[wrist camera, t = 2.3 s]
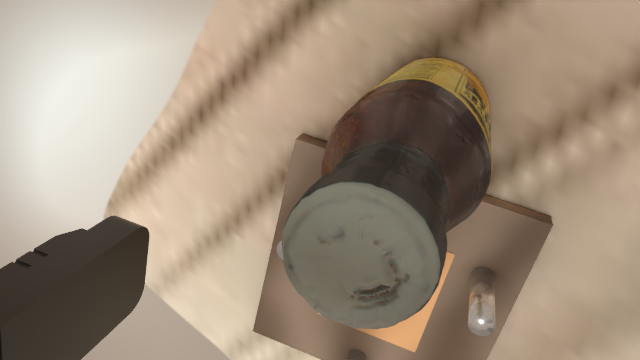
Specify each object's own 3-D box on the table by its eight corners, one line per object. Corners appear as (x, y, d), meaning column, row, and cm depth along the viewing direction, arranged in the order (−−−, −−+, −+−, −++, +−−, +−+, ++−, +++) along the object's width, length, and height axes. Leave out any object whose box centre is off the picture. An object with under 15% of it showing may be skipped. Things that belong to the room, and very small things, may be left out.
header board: (550, 216, 30) (552, 225, 29) (459, 404, 37) (458, 417, 36) (302, 133, 33) (295, 139, 32) (259, 321, 40) (252, 331, 39)
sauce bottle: (480, 164, 30) (469, 417, 13) (377, 149, 32) (241, 357, 14) (499, 52, 28) (519, 175, 10) (387, 43, 30) (237, 134, 12)
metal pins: (497, 271, 31) (499, 319, 27) (439, 399, 36) (432, 458, 31) (306, 203, 34) (279, 237, 29) (275, 331, 38) (246, 377, 34)
